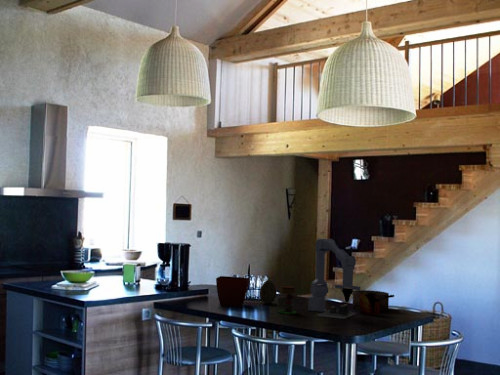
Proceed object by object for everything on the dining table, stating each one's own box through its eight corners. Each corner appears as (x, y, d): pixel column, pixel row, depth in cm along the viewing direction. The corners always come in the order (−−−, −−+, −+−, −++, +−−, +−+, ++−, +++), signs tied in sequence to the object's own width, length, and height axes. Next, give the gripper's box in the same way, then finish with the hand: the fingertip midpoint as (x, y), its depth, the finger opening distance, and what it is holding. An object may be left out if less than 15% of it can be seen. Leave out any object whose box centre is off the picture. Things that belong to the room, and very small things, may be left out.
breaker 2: (342, 312, 374) (342, 304, 374) (344, 311, 378) (344, 304, 378) (346, 312, 373) (346, 305, 373) (348, 311, 377) (348, 304, 377)
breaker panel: (318, 316, 363) (318, 312, 364) (330, 311, 383) (330, 308, 383) (345, 318, 357) (345, 315, 357) (356, 314, 376) (356, 310, 377)
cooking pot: (340, 308, 401) (341, 291, 402) (355, 305, 420) (356, 288, 420) (385, 314, 385) (386, 296, 385) (399, 310, 403) (399, 293, 404)
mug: (378, 316, 372) (379, 295, 373) (356, 313, 380) (357, 293, 380) (384, 314, 380) (385, 294, 380) (363, 312, 388) (363, 292, 388)
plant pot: (249, 304, 402) (250, 277, 403) (245, 308, 383) (247, 280, 384) (219, 302, 404) (220, 275, 405) (214, 306, 385) (215, 278, 386)
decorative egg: (270, 305, 401) (271, 281, 402) (256, 303, 407) (257, 279, 407) (279, 303, 410) (280, 280, 411) (264, 301, 416) (265, 278, 417)
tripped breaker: (329, 314, 363) (330, 306, 363) (331, 313, 366) (332, 306, 366) (333, 314, 362) (334, 307, 362) (336, 313, 365) (336, 306, 365)
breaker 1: (338, 313, 368) (338, 306, 368) (340, 312, 371) (340, 305, 372) (342, 313, 367) (342, 306, 367) (344, 313, 370) (344, 305, 370)
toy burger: (301, 312, 374) (302, 287, 375) (291, 314, 364) (292, 288, 365) (284, 310, 381) (285, 285, 382) (273, 312, 371) (274, 286, 371)
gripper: (333, 277, 361) (332, 301, 360) (358, 279, 355) (357, 303, 354) (337, 276, 367) (336, 300, 367) (361, 278, 361) (360, 302, 361)
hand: (346, 302), depth 361 cm, fingers closed
